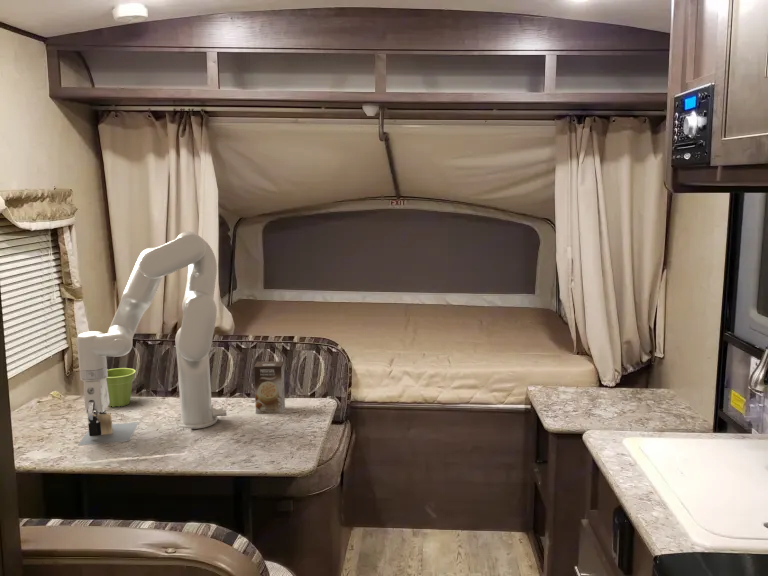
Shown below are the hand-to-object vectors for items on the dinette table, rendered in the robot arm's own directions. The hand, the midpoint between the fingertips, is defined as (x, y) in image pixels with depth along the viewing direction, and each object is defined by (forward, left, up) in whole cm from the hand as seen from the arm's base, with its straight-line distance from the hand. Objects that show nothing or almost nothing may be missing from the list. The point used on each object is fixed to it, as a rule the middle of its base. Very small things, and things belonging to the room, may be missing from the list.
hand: (98, 430), depth 197 cm
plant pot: (0, -30, -2) cm, 30 cm away
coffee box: (-51, -11, -2) cm, 52 cm away
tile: (+2, 0, +2) cm, 3 cm away
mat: (-3, 0, -2) cm, 4 cm away
